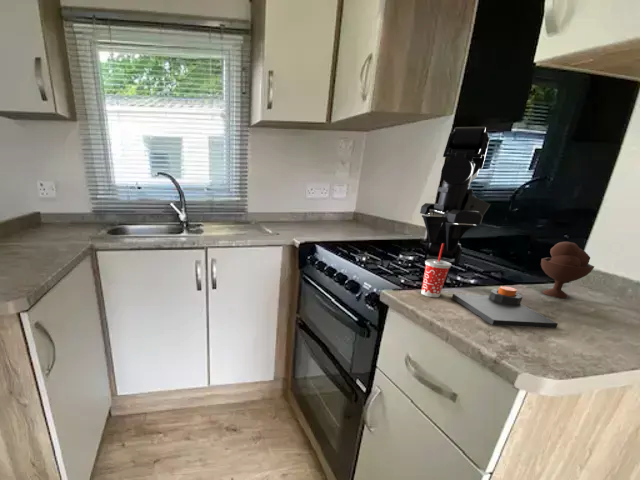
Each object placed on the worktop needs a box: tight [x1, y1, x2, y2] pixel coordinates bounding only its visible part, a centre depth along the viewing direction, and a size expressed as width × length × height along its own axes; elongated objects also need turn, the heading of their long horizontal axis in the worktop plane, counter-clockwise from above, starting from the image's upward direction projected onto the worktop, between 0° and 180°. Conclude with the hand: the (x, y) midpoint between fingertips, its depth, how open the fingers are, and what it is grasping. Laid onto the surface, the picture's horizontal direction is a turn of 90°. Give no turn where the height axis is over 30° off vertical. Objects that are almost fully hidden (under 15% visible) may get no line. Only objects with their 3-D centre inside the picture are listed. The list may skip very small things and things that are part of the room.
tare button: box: [498, 285, 518, 296], centre depth 90 cm, size 4×4×2 cm
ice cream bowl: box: [540, 241, 595, 299], centre depth 98 cm, size 11×11×15 cm
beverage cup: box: [420, 243, 452, 298], centre depth 94 cm, size 6×6×14 cm
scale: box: [451, 288, 559, 329], centre depth 86 cm, size 17×15×3 cm
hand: (440, 246), depth 92 cm, fingers open, 9 cm apart
